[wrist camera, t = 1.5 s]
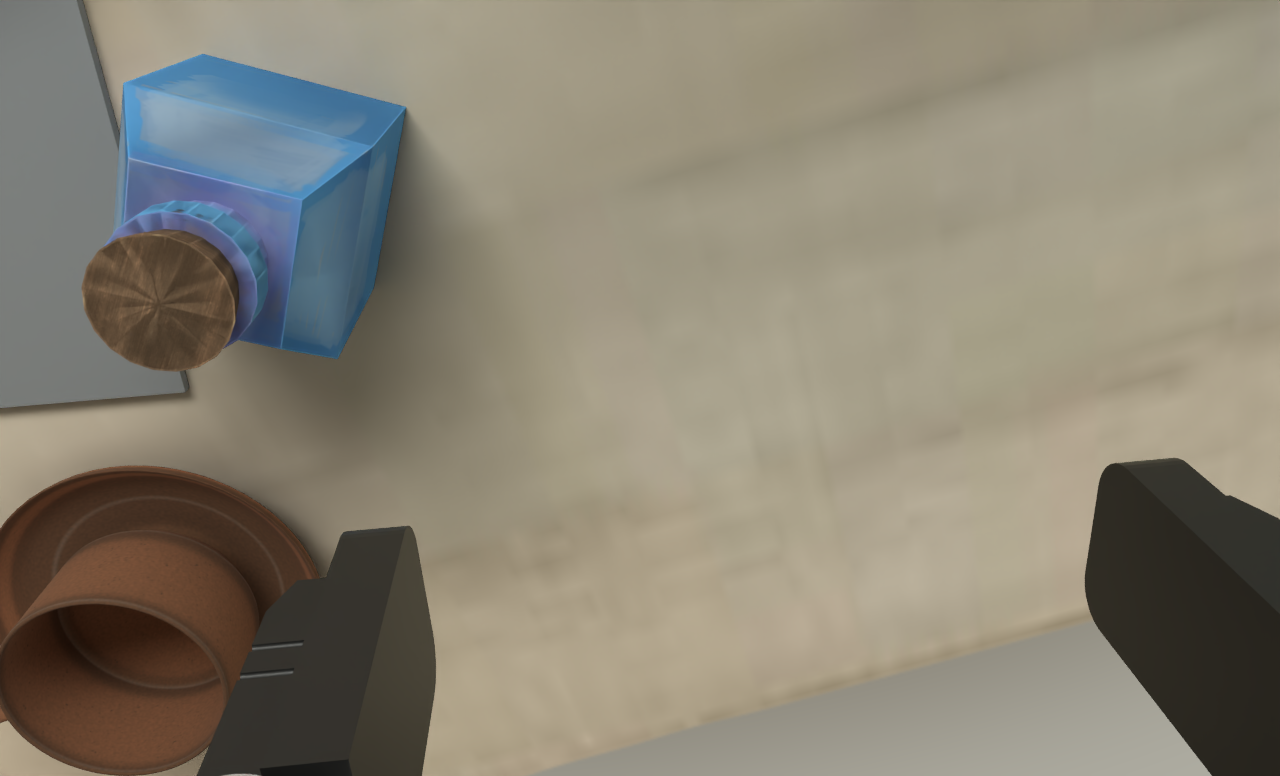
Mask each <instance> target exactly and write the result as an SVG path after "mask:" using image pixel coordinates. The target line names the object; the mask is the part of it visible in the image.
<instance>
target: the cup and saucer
mask: <svg viewBox="0 0 1280 776" xmlns="http://www.w3.org/2000/svg"><path fill="white" fill-rule="evenodd" d="M318 578H319V576H318V573H317V570H316V568H315V566H314V564H313V562H312V560H311V558H310V557H309V555H308V553H307V552H306V550H305V549H304V547H303V546H302V544H301V543H300V542H299V540H298V539H297V538H296V536H295V535H294V534H293V533H292V532H291V531H290V530H289V529H288V528H287V527H286V525H285V524H284V523H283V522H282V521H280V520H279V519H278V518H277V517H276V516H275V515H274V514H273V513H271V512H270V511H269V510H267V509H266V508H265V507H263V506H262V505H261V504H259V503H258V502H256V501H255V500H253V499H251V498H250V497H248V496H247V495H245V494H243V493H241V492H239V491H237V490H236V489H234V488H232V487H230V486H227V485H225V484H223V483H220V482H218V481H216V480H213V479H210V478H207V477H204V476H201V475H198V474H194V473H190V472H186V471H182V470H177V469H171V468H165V467H155V466H119V467H109V468H103V469H98V470H92V471H89V472H85V473H82V474H78V475H75V476H72V477H70V478H67V479H65V480H62V481H60V482H58V483H56V484H54V485H52V486H50V487H48V488H46V489H44V490H43V491H41V492H39V493H38V494H36V495H35V496H33V497H32V498H30V499H29V500H28V501H26V502H25V503H24V504H23V505H21V506H20V507H19V508H18V509H17V510H16V511H15V512H14V513H13V514H12V515H11V516H10V517H9V518H8V519H7V520H6V522H5V523H4V524H3V526H2V527H1V528H0V723H1V722H4V721H7V720H8V721H9V722H10V723H11V725H12V726H13V727H14V728H15V729H16V731H17V732H18V733H19V734H20V735H21V736H22V737H23V738H25V739H26V740H27V741H28V742H29V743H31V744H32V745H33V746H35V747H36V748H37V749H39V750H40V751H42V752H43V753H45V754H47V755H49V756H50V757H52V758H54V759H56V760H58V761H61V762H63V763H65V764H68V765H70V766H73V767H76V768H79V769H82V770H86V771H90V772H95V773H100V774H107V775H118V776H135V775H146V774H152V773H157V772H162V771H165V770H169V769H172V768H174V767H177V766H179V765H182V764H184V763H186V762H188V761H189V760H191V759H193V758H194V757H196V756H197V755H199V754H200V753H201V752H202V751H204V750H205V749H206V748H207V747H208V746H209V745H210V743H211V741H212V738H213V736H214V734H215V731H216V729H217V726H218V724H219V722H220V719H221V717H222V715H223V712H224V710H225V707H226V705H227V703H228V700H229V698H230V696H231V693H232V691H233V688H234V686H235V684H236V681H237V680H240V672H241V669H242V667H243V665H244V662H245V660H246V658H247V655H248V653H249V652H252V643H253V641H254V638H255V636H256V634H257V631H258V629H259V627H260V624H261V622H262V619H263V617H264V615H265V612H266V611H267V610H268V609H269V608H270V607H271V606H272V605H273V604H274V603H275V602H276V601H277V600H278V599H279V598H280V597H281V596H282V595H283V594H284V593H285V592H286V591H287V590H288V589H289V588H290V587H291V586H292V585H293V584H294V583H295V582H296V581H297V580H307V579H318Z"/></svg>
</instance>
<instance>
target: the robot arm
mask: <svg viewBox="0 0 1280 776" xmlns="http://www.w3.org/2000/svg"><path fill="white" fill-rule="evenodd" d="M1085 592H1086V598H1087V602H1088V606H1089V610H1090V613H1091V615H1092V617H1093V620H1094V622H1095V624H1096V625H1097V627H1098V629H1099V630H1100V631H1101V633H1102V634H1103V635H1104V636H1105V638H1106V639H1107V640H1108V642H1109V643H1110V644H1111V646H1112V647H1113V648H1114V649H1115V651H1116V652H1117V653H1118V655H1119V656H1120V657H1121V659H1122V660H1123V661H1124V662H1125V664H1126V665H1127V666H1128V668H1129V669H1130V670H1131V671H1132V673H1133V674H1134V675H1135V677H1136V678H1137V679H1138V681H1139V682H1140V683H1141V684H1142V686H1143V687H1144V688H1145V690H1146V691H1147V692H1148V693H1149V695H1150V696H1151V697H1152V699H1153V700H1154V701H1155V702H1156V704H1157V705H1158V706H1159V708H1160V709H1161V710H1162V712H1163V713H1164V714H1165V715H1166V717H1167V718H1168V719H1169V721H1170V722H1171V723H1172V724H1173V726H1174V727H1175V728H1176V729H1177V731H1178V732H1179V733H1180V735H1181V736H1182V737H1183V738H1184V740H1185V741H1186V742H1187V744H1188V745H1189V746H1190V748H1191V749H1192V750H1193V752H1194V753H1195V754H1196V756H1197V757H1198V758H1199V759H1200V761H1201V762H1202V763H1203V765H1204V766H1205V767H1206V768H1207V770H1208V771H1209V772H1210V774H1211V775H1212V776H1280V520H1279V519H1278V518H1276V517H1274V516H1272V515H1270V514H1268V513H1266V512H1264V511H1262V510H1260V509H1258V508H1256V507H1253V506H1251V505H1249V504H1247V503H1245V502H1243V501H1241V500H1239V499H1237V498H1235V497H1233V496H1225V495H1224V494H1223V493H1222V492H1220V491H1219V490H1218V489H1217V488H1216V487H1215V486H1213V485H1212V484H1211V483H1210V482H1209V481H1208V480H1206V479H1205V478H1204V477H1203V476H1202V475H1200V474H1199V473H1198V472H1197V471H1196V470H1195V469H1193V468H1192V467H1191V466H1190V465H1189V464H1188V463H1186V462H1185V461H1183V460H1181V459H1178V458H1168V459H1157V460H1146V461H1135V462H1124V463H1114V464H1110V465H1109V466H1107V467H1106V468H1105V470H1104V471H1103V473H1102V475H1101V478H1100V482H1099V486H1098V493H1097V500H1096V506H1095V513H1094V519H1093V526H1092V532H1091V539H1090V545H1089V552H1088V558H1087V565H1086V571H1085ZM435 682H436V659H435V645H434V637H433V631H432V625H431V620H430V614H429V609H428V603H427V598H426V592H425V586H424V581H423V575H422V570H421V564H420V559H419V553H418V548H417V543H416V538H415V535H414V532H413V530H412V528H411V527H410V526H401V527H390V528H379V529H368V530H357V531H346V532H344V533H343V534H342V535H341V537H340V540H339V542H338V545H337V548H336V551H335V554H334V557H333V560H332V562H331V565H330V568H329V571H328V574H327V577H326V578H318V579H307V580H297V581H296V582H295V583H294V584H293V585H292V586H291V587H290V588H289V589H288V590H287V591H286V592H285V593H284V594H283V595H282V596H281V597H280V598H279V599H278V600H277V601H276V602H275V603H274V604H273V605H272V606H271V607H270V608H269V609H268V610H267V611H266V612H265V615H264V617H263V619H262V622H261V624H260V627H259V629H258V631H257V634H256V636H255V638H254V641H253V643H252V652H249V653H248V655H247V658H246V660H245V662H244V665H243V667H242V669H241V672H240V680H237V681H236V684H235V686H234V688H233V691H232V693H231V696H230V698H229V700H228V703H227V705H226V707H225V710H224V712H223V715H222V717H221V719H220V722H219V724H218V726H217V729H216V731H215V734H214V736H213V738H212V741H211V743H210V745H209V748H208V750H207V753H206V755H205V757H204V760H203V762H202V765H201V767H200V769H199V772H198V774H197V776H422V770H423V764H424V757H425V751H426V745H427V738H428V732H429V725H430V719H431V713H432V706H433V700H434V693H435Z"/></svg>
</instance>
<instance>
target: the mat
mask: <svg viewBox="0 0 1280 776" xmlns="http://www.w3.org/2000/svg"><path fill="white" fill-rule="evenodd" d="M119 141H120V134H119V131H118V127H117V123H116V120H115V116H114V113H113V109H112V105H111V102H110V98H109V94H108V91H107V87H106V83H105V80H104V76H103V73H102V69H101V65H100V62H99V58H98V54H97V51H96V47H95V44H94V40H93V36H92V33H91V29H90V25H89V22H88V18H87V14H86V11H85V7H84V4H83V0H0V408H6V407H18V406H30V405H41V404H53V403H65V402H77V401H89V400H101V399H112V398H124V397H136V396H148V395H160V394H171V393H183V392H186V391H187V390H188V388H189V385H188V381H187V378H186V374H185V370H183V371H178V372H172V371H158V370H152V369H149V368H146V367H143V366H140V365H137V364H134V363H131V362H129V361H128V360H126V359H125V358H123V357H122V356H120V355H119V354H117V353H116V352H114V351H113V350H111V349H110V348H109V347H108V346H107V345H106V344H105V342H104V341H103V340H102V339H101V338H100V337H99V336H98V335H97V333H96V332H95V331H94V330H93V327H92V325H91V323H90V321H89V319H88V317H87V315H86V313H85V311H84V305H83V297H82V289H81V287H82V283H83V279H84V275H85V271H86V267H87V266H88V264H89V263H90V261H91V260H92V259H93V257H94V256H95V255H96V253H97V252H98V251H99V249H101V248H103V247H104V245H105V244H106V243H107V241H108V240H109V238H110V237H111V236H112V234H113V229H114V214H115V199H116V185H117V170H118V156H119Z"/></svg>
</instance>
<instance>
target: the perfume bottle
mask: <svg viewBox="0 0 1280 776" xmlns="http://www.w3.org/2000/svg"><path fill="white" fill-rule="evenodd" d="M405 110H406V107H404V106H400V105H396V104H392V103H389V102H385V101H381V100H377V99H373V98H369V97H366V96H362V95H358V94H354V93H350V92H346V91H343V90H339V89H335V88H331V87H327V86H324V85H320V84H316V83H312V82H308V81H304V80H301V79H297V78H293V77H289V76H285V75H281V74H278V73H274V72H270V71H266V70H262V69H258V68H255V67H251V66H247V65H243V64H239V63H236V62H232V61H228V60H224V59H220V58H216V57H213V56H209V55H205V54H201V55H198V56H196V57H193V58H190V59H188V60H185V61H182V62H179V63H177V64H174V65H171V66H169V67H166V68H163V69H160V70H158V71H155V72H152V73H149V74H147V75H144V76H141V77H139V78H136V79H133V80H130V81H128V82H125V83H123V98H122V112H121V127H120V141H119V156H118V170H117V185H116V199H115V214H114V229H113V234H112V236H111V237H110V238H109V240H108V241H107V243H106V244H105V245H104V247H103V248H101V249H99V251H98V252H97V253H96V255H95V256H94V257H93V259H92V260H91V261H90V263H89V264H88V266H87V267H86V271H85V275H84V279H83V283H82V287H81V289H82V297H83V305H84V311H85V313H86V315H87V317H88V319H89V321H90V323H91V325H92V327H93V330H94V331H95V332H96V333H97V335H98V336H99V337H100V338H101V339H102V340H103V341H104V342H105V344H106V345H107V346H108V347H109V348H110V349H111V350H113V351H114V352H116V353H117V354H119V355H120V356H122V357H123V358H125V359H126V360H128V361H129V362H131V363H134V364H137V365H140V366H143V367H146V368H149V369H152V370H158V371H172V372H178V371H183V370H188V369H192V368H197V367H200V366H201V365H203V364H205V363H206V362H208V361H210V360H211V359H213V358H215V357H216V356H217V355H218V354H219V353H220V352H221V350H222V349H224V348H225V347H227V346H229V345H230V344H232V343H234V342H235V341H237V340H241V341H246V342H250V343H255V344H260V345H264V346H269V347H274V348H278V349H283V350H289V351H295V352H300V353H306V354H312V355H317V356H323V357H329V358H334V359H338V357H339V355H340V353H341V351H342V349H343V348H344V346H345V344H346V342H347V340H348V338H349V336H350V334H351V332H352V330H353V328H354V326H355V324H356V322H357V320H358V318H359V316H360V314H361V312H362V310H363V308H364V306H365V304H366V302H367V300H368V298H369V296H370V294H371V292H372V290H373V288H374V284H375V279H376V273H377V267H378V262H379V256H380V251H381V245H382V239H383V234H384V228H385V222H386V217H387V211H388V206H389V200H390V194H391V189H392V183H393V178H394V172H395V166H396V161H397V155H398V150H399V144H400V138H401V133H402V127H403V122H404V116H405Z"/></svg>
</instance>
